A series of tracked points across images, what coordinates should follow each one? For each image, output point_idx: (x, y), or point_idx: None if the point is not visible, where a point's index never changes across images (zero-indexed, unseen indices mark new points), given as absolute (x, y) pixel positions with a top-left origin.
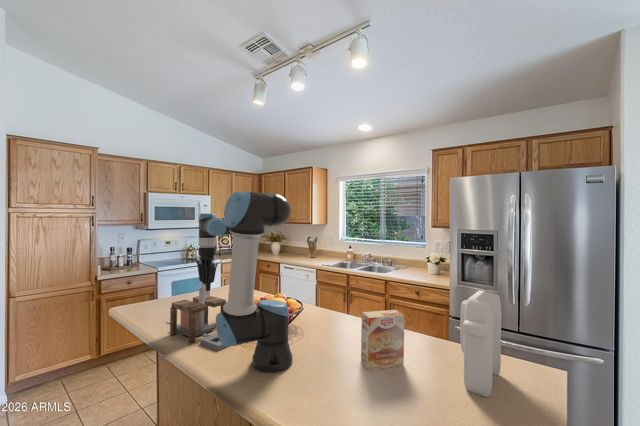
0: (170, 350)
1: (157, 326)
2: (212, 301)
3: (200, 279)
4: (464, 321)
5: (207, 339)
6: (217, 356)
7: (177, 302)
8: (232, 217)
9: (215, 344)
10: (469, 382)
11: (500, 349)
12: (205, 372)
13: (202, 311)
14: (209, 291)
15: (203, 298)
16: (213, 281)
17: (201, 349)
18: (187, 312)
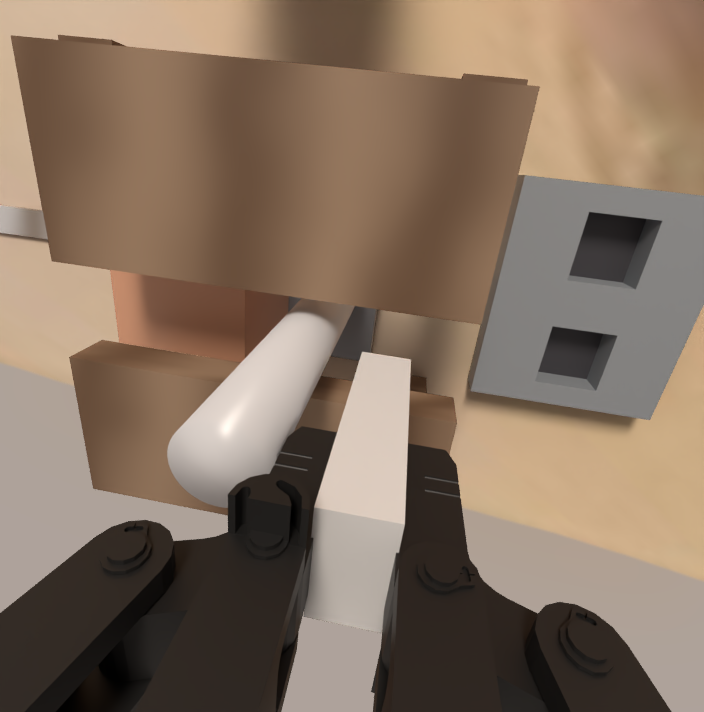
0: None
1: (34, 302)
2: (405, 273)
3: (144, 685)
4: None
5: (515, 378)
6: (669, 453)
7: (118, 462)
8: None
9: (615, 412)
10: None
11: None
12: (701, 569)
13: (345, 324)
14: (407, 411)
15: (320, 372)
16: (619, 657)
17: (525, 425)
18: (216, 356)
